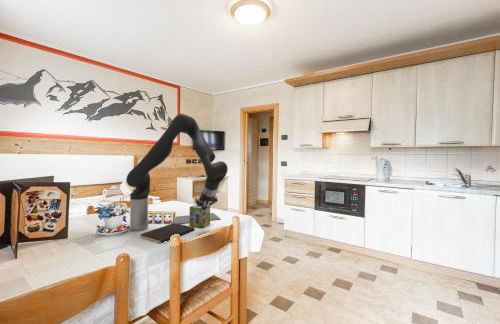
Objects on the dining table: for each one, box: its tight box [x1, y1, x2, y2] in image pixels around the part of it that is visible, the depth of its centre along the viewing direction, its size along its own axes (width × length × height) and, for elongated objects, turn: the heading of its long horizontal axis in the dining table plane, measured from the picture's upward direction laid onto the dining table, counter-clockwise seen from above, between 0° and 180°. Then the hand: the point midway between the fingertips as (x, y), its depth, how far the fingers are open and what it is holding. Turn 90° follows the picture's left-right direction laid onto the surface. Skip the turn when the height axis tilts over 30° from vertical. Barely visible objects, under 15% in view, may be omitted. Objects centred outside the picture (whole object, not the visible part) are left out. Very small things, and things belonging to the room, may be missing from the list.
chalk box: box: [188, 204, 211, 229], centre depth 146 cm, size 9×9×15 cm
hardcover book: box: [139, 223, 196, 244], centre depth 131 cm, size 16×23×2 cm
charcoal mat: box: [171, 212, 222, 225], centre depth 159 cm, size 30×16×1 cm, turn 115°
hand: (203, 208), depth 139 cm, fingers closed
